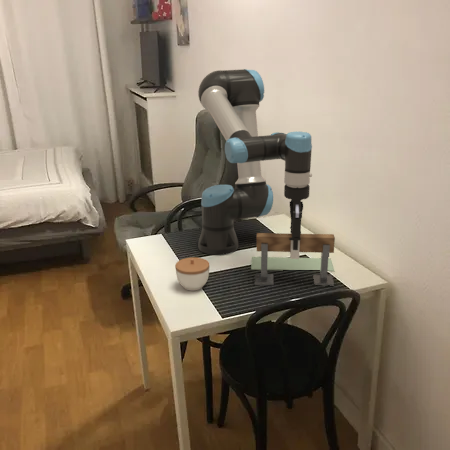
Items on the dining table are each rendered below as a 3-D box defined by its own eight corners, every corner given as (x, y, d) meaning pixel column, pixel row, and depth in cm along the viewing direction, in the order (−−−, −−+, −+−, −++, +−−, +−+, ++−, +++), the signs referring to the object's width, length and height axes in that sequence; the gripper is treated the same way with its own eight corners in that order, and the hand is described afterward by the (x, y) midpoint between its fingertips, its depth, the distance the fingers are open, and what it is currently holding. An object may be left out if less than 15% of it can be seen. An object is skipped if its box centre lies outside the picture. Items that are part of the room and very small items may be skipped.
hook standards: (254, 284, 158) (254, 244, 153) (255, 276, 164) (255, 237, 159) (333, 286, 156) (336, 245, 151) (331, 278, 162) (334, 238, 157)
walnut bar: (256, 251, 156) (256, 236, 154) (256, 247, 159) (256, 233, 157) (333, 252, 154) (334, 237, 152) (332, 249, 157) (333, 234, 155)
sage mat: (251, 269, 169) (251, 268, 169) (252, 257, 178) (251, 256, 178) (334, 271, 166) (334, 270, 166) (330, 259, 176) (330, 258, 176)
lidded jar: (179, 296, 152) (178, 268, 149) (173, 281, 162) (172, 254, 158) (213, 291, 154) (212, 264, 151) (205, 276, 164) (204, 250, 161)
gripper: (311, 192, 141) (308, 267, 149) (307, 177, 156) (304, 246, 164) (285, 191, 142) (283, 266, 150) (283, 177, 157) (281, 245, 165)
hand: (294, 255), depth 157 cm, fingers closed on walnut bar, 3 cm apart
